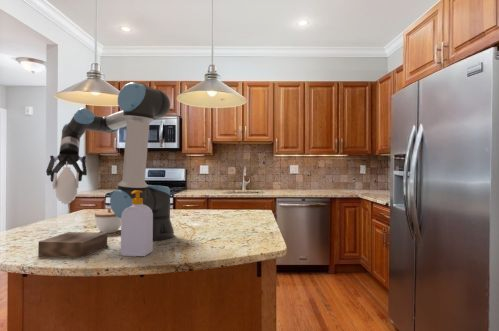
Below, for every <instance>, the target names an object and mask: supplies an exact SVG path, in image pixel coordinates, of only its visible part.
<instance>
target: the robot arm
mask: <svg viewBox="0 0 499 331" xmlns="http://www.w3.org/2000/svg"><path fill="white" fill-rule="evenodd" d="M117 105H118V108H119V109H120V110H121V111H117V112H114V113H112V114H109V115H106V116H100V115H96V114H94V111H92V110H90V109H88V108H86V107H81V108H79V109H78V110H77V111H75V113H74V114H73V116H72V118H71V119H70V120H69V122H68V123H65V124H64V125H63V127H62V129H61V139H60V146H59V154H58V155H57V156H54V155H50V156H49V158H50V160H49V163H48V164H47V168H46V171H45V172H46V176H48V177H49V176H50V182H51V183H52V189H53V190H54V189H56V182H57V179H58V173H59V172H60V170H62V169H63V167H64V166H66V161H67V166H68V165H70V166H72V167H73V168H74V169H75V171H76V176H75V178H76V188H77V189H79V182H82V180H83V179H82V178H83V176H88V173H87V172H88V170H87V165H86V162H87V156H86V155H83V156H80V142H81V137H82V136H83V135H84V134H85V132H86V131H92V132H99V133H100V132H101V133H108V134H111V133H112V134H116V133H117V132H118V131H119V130H120V129H122V128H125V127H126V128H125V139H124V140H125V143H124V152H123V153H124V157H123V165H122V166H123V168H122V180H121V181H120V182H119V183H118V184H117V189H116V190H114V191H113V192H112V194H111V195H110V198H109V205H110V209H111V211H113V212H114V214H115V215H116V216H117V217H119V218H121V215H122V212H123V211H124V210H125V209H126V208H128V207H130V206H132V199H133V198H136V193H134V194H131V193H132V191H135V190H140V191H142V193H140V198H143V205H146V206H148V207H150V209H151V210H152V213H153V241H162V240H168V239H172V238H173V237H175V233H174V232H175V231H174V227H173V224H172V221H171V196H172V195H171V189H170V187H169V186H164V185H156V184H155V185H154V184H153V185H152V184H147V182H146V173H147V172H146V171H147V170H146V169H147V157H148V144H149V133H150V131H149V130H150V124H151V123H152V122H153V121H156V120H158V119H161V118H164V117H165V116H167V115H168V113H169V111H170V110H171V100H170V98H169V96H168V95H167V94H166V93H165V92H164V91H162V90H160V89H156V88H154V87H150V86H148V85H145V84H142V83H137V82H129V83H126V84H124V85H123V87H122V88H121V89H120V91H119V92H118V95H117ZM57 161H58V163H57V164H56V165H55V163H56V162H57ZM79 161H80V163H81V165H82V169H81V168H80V165H79V164H78V162H79ZM54 165H55V166H54Z"/></svg>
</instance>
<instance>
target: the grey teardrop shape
mask: <svg viewBox="0 0 499 331" xmlns="http://www.w3.org/2000/svg"><path fill="white" fill-rule="evenodd" d="M77 194H78V188H76V176H75V174H74V172H73V171H72V170H71V167H70V166H68V165H67V161H66V165H65V167H64V166H63V167H62V169H61V171H60V173H59V174H58V175H57V181H56V189H55V195H56V198H57V200H58V201H59V202H61V204H63V205H69V204H70V203H71V204H72V202H73V201H75V199H76V197H77Z"/></svg>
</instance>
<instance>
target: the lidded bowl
mask: <svg viewBox="0 0 499 331" xmlns="http://www.w3.org/2000/svg"><path fill="white" fill-rule="evenodd" d="M94 223H95V226H96V229H97V230H99V231H100V233H107V234H110V233H116V232H118V230H119V229H121V218H119V217H117V216H116V215H115V214H114V212H113V211H112V209H111V208H107V210H105V211H97V212H94Z"/></svg>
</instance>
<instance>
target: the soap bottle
mask: <svg viewBox="0 0 499 331" xmlns="http://www.w3.org/2000/svg"><path fill="white" fill-rule="evenodd" d="M134 193H136V198H133V199H132V206H130V207H128V208H126V209H125V210H124V211H123V212H122V215H121V227H120V255H121V256H122V257H136V256H144V257H146V256H147V255H149V254H150V253H152V252H153V250H154V249H153V247H154V246H153V245H154V244H153V241H154V240H153V213H152V210H151V209H150V207H148V206H146V205H143V198H140V193H142V191H140V190H135V191H132V193H131V194H134Z"/></svg>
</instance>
